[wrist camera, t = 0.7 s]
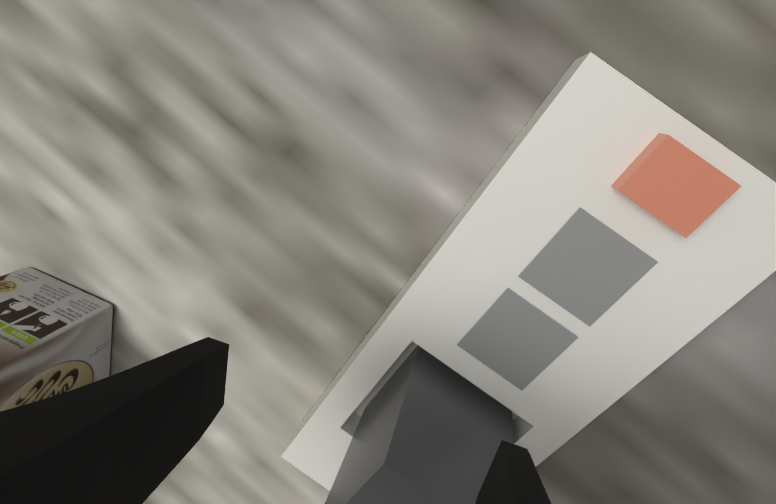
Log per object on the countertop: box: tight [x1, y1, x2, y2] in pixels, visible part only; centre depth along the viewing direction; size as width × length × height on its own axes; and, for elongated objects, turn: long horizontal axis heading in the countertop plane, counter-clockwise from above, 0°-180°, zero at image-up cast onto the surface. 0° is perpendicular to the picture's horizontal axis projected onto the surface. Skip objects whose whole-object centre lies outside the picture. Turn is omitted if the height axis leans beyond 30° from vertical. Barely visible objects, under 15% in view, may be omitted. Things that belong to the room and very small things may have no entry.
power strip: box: [281, 52, 776, 491], centre depth 18 cm, size 9×22×3 cm, turn 148°
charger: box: [325, 345, 514, 504], centre depth 17 cm, size 5×5×7 cm
